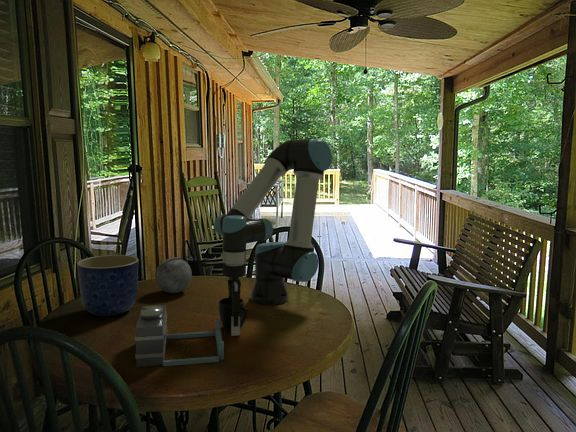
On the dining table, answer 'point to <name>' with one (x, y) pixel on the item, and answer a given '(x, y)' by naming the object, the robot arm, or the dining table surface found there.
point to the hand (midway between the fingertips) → (234, 328)
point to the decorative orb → (173, 275)
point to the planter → (108, 283)
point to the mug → (226, 310)
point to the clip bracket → (204, 359)
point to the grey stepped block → (151, 336)
